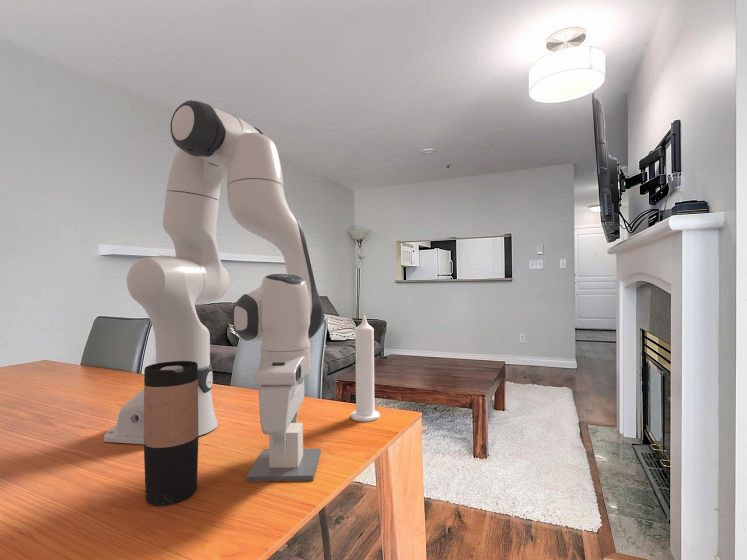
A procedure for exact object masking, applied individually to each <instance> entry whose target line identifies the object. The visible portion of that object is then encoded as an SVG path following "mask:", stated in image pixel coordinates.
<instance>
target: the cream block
mask: <svg viewBox="0 0 747 560" xmlns="http://www.w3.org/2000/svg"><path fill="white" fill-rule="evenodd" d="M303 424H304V423H303V422H297V423H290V425H289V427H288V428H287V430H286V433H285V437H286V440H287V445H286V446H287V448H286V451H285V453H284V454H276V453H275V452H274V442H273V439H272V435H268V449H269V468H296V467H299V464H300V462H301V459H302V457H303V449H304V427H303V426H304V425H303Z"/></svg>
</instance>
